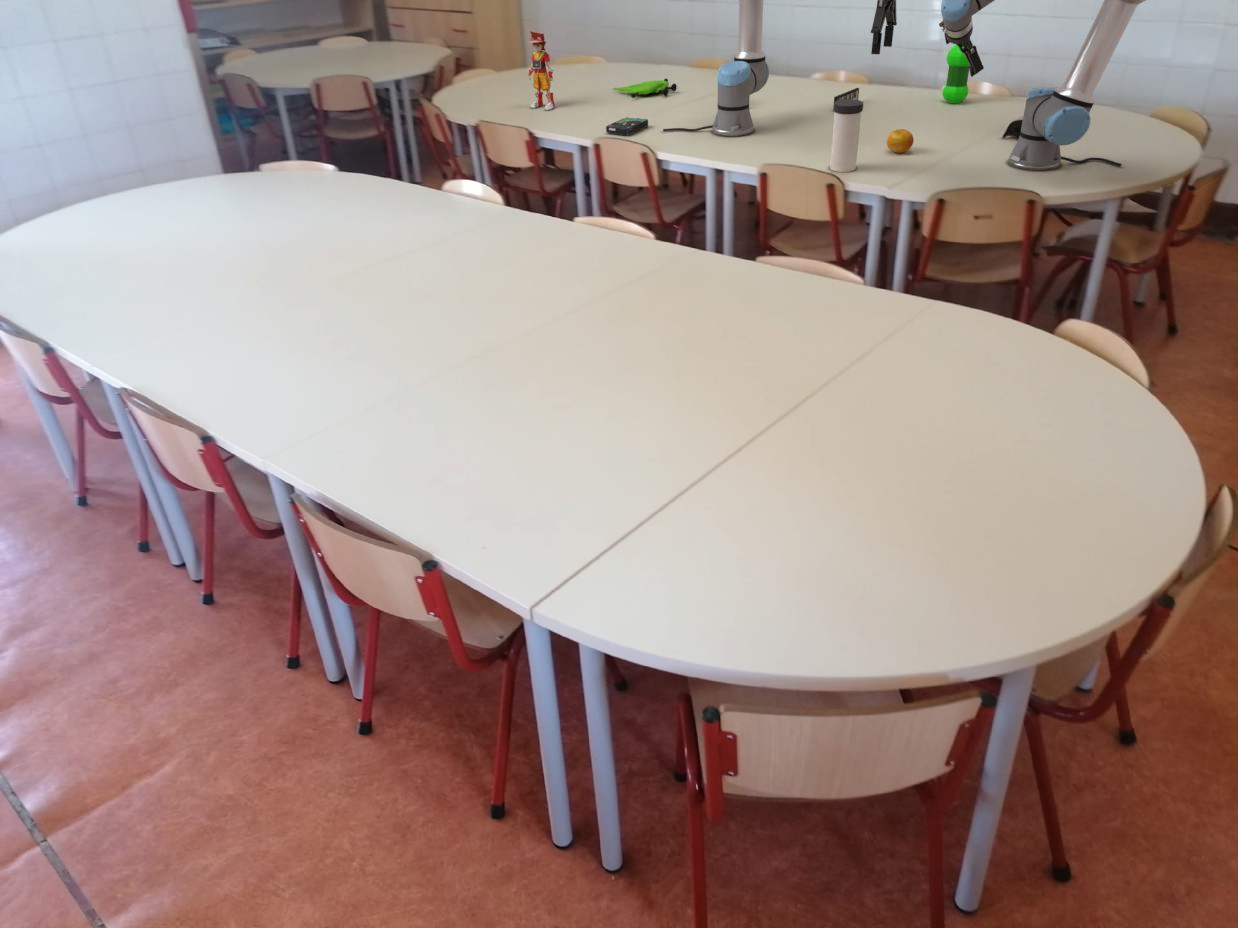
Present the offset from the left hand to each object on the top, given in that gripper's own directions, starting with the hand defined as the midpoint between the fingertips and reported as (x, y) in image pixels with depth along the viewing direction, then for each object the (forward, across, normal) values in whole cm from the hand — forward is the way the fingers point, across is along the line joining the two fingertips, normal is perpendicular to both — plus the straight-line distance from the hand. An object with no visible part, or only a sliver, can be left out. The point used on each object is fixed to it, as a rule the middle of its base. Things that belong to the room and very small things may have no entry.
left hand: (881, 50), depth 308 cm
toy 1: (+28, -6, +142) cm, 144 cm away
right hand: (-3, -20, -31) cm, 37 cm away
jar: (+28, -42, -3) cm, 51 cm away
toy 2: (+28, +32, +114) cm, 122 cm away
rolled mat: (+28, +23, -51) cm, 62 cm away
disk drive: (+28, -25, +88) cm, 96 cm away
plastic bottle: (+28, +54, -16) cm, 63 cm away
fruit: (+28, -18, -15) cm, 37 cm away
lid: (+8, -42, -3) cm, 43 cm away
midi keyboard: (+28, +36, +22) cm, 51 cm away
